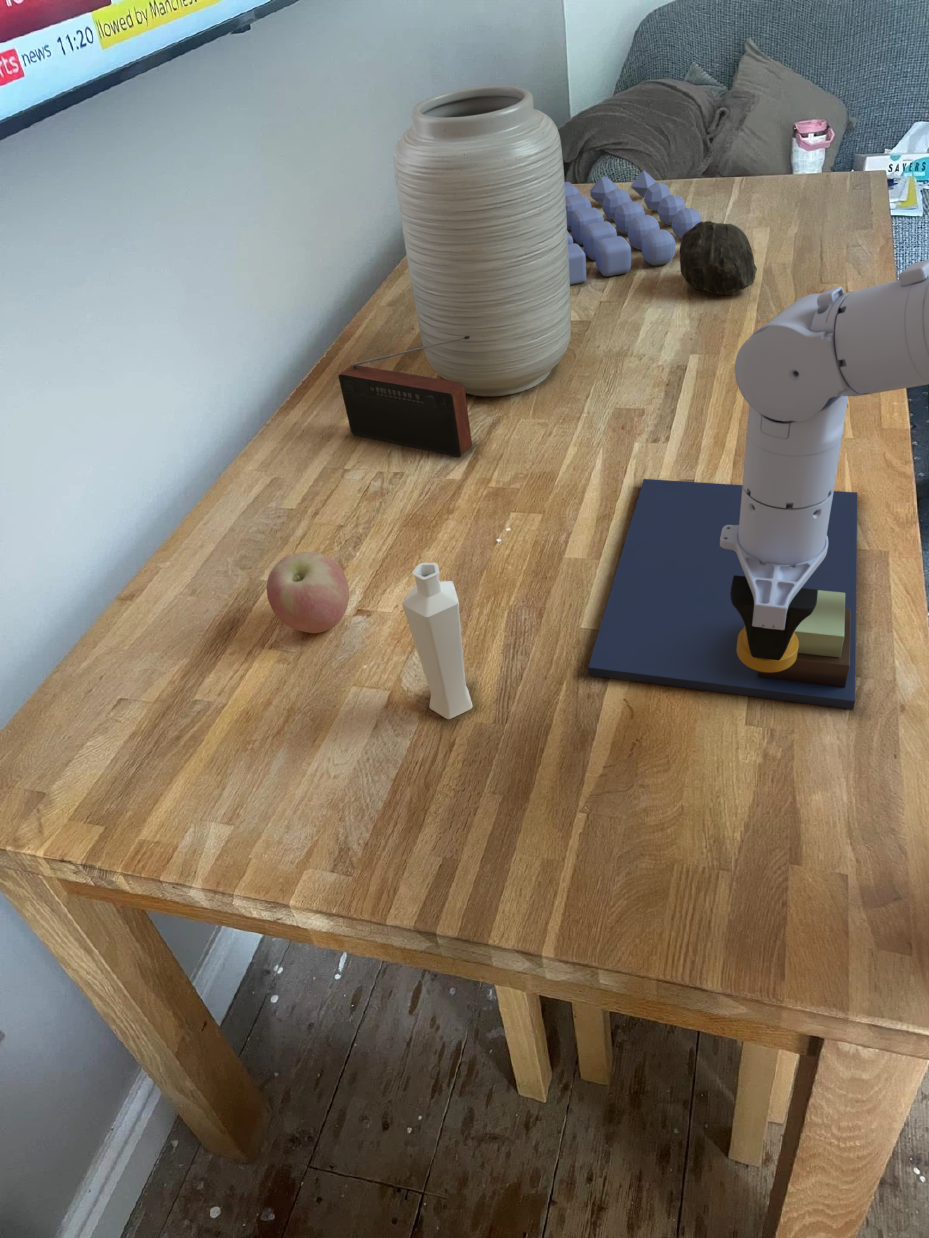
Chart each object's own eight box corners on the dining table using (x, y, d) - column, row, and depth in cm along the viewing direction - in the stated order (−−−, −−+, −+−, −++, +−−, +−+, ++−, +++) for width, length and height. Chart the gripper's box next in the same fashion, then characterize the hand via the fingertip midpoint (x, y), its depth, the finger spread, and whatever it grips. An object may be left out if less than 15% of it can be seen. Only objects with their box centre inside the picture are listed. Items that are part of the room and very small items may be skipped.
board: (853, 709, 77) (855, 701, 76) (588, 675, 84) (587, 667, 83) (856, 500, 98) (857, 492, 97) (643, 486, 104) (643, 478, 104)
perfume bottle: (464, 727, 81) (440, 594, 71) (420, 715, 82) (390, 583, 73) (486, 690, 84) (466, 558, 74) (442, 679, 85) (417, 548, 76)
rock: (750, 299, 134) (747, 225, 129) (672, 305, 139) (666, 235, 134) (764, 278, 141) (761, 207, 136) (689, 284, 146) (684, 217, 141)
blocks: (471, 226, 173) (467, 198, 170) (652, 192, 175) (652, 163, 172) (511, 298, 147) (508, 267, 143) (723, 257, 148) (725, 225, 145)
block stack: (845, 688, 77) (854, 643, 74) (757, 677, 80) (761, 633, 76) (846, 631, 82) (855, 587, 79) (763, 622, 84) (768, 579, 81)
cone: (809, 658, 70) (819, 601, 67) (762, 680, 69) (769, 624, 66) (770, 625, 74) (777, 569, 70) (724, 646, 72) (729, 591, 69)
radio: (349, 436, 121) (324, 325, 111) (363, 424, 122) (339, 314, 113) (474, 462, 112) (458, 345, 102) (486, 449, 114) (472, 333, 104)
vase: (568, 406, 119) (552, 118, 97) (414, 411, 123) (365, 135, 101) (578, 335, 134) (567, 70, 112) (440, 341, 138) (403, 87, 116)
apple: (263, 635, 93) (241, 572, 88) (314, 590, 97) (295, 528, 92) (323, 661, 89) (303, 597, 84) (372, 613, 94) (356, 549, 88)
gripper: (738, 423, 68) (727, 570, 77) (709, 544, 58) (700, 696, 67) (842, 430, 65) (818, 580, 74) (831, 557, 56) (804, 712, 64)
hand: (769, 636), depth 70 cm, fingers closed on cone, 3 cm apart
